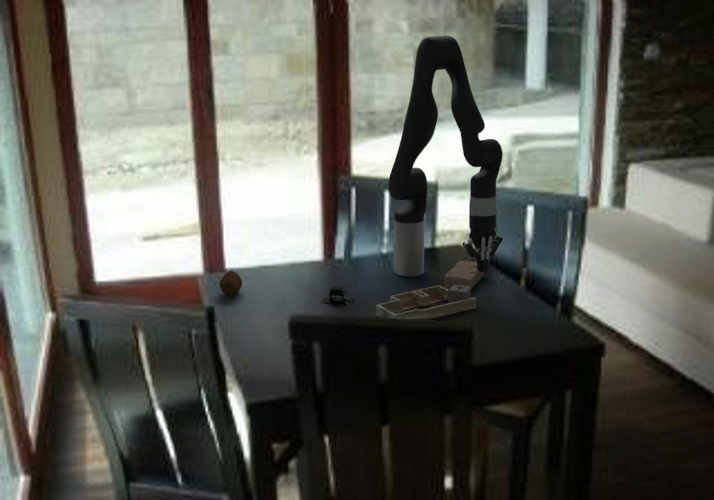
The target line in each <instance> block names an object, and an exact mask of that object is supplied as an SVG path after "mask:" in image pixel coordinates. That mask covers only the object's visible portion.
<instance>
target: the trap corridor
mask: <svg viewBox="0 0 714 500" xmlns="http://www.w3.org/2000/svg"><path fill="white" fill-rule="evenodd" d="M448 290H449V289H446V288H444V286H442V285H440V284H439V285H433V286H429V287H424V288H419V289H415V290H411V291H406V292H402V293H399V294H398V293H397V294H393V295H390V296H388V297H389V298H388V299H389V301H386V302H382V303H376V304H375V317H376V316H380V317H385V318H396V319H419V318H424V319H428V318H433V317H438V318H440V317H439V316H442V317H444V316H443V315H446V316H448V315H447V314H450V315H453V313H454V314H458V313H461V311H462V312H466V310H467V311H470V310H474V309H477V297H475V296H473V297H471V298H469V299H465V300H461V301H456V302H452V303H448V302H447V303H444V304H440V305H439V304H438V305H436V306H431V305H433V304H436V303H437V302H438V303H442V302H446V301H447V300H448ZM428 305H430V306H431V307H429V306H428ZM419 306H420V307H421V306H422V307H421V308H423V309H418V308H420V307H419ZM423 306H426V308H424V307H423ZM415 307H416V308H415ZM411 308H412V310H410V309H411ZM414 308H415V309H414ZM406 309H407V311H406ZM457 312H458V313H457ZM395 313H396V314H395Z"/></svg>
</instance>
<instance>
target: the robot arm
mask: <svg viewBox="0 0 714 500" xmlns="http://www.w3.org/2000/svg"><path fill="white" fill-rule="evenodd" d="M416 49H417V51H416V57H415V62H414V72H413V80H412V86H411V91H410V97H409V102H408V105H407V110H406V113H405V119H404V123H403V127H402V132H401V138H400V142H399V145H398V149H397V152H396V156H395V159H394V161H393V165H392V168H391V171H390V174H389V177H388V184H387V185H388V192H389V196H391V198H392V199H393V200H396V201H404V203H403V204H402V205H401V206H400V207H398V208H397V209H395V210H394V214H393V215H394V217H393V219H394V241H393V271H394V273H395V274H396V275H397V276H401V277H406V278H407V277H408V278H409V277H411V278H412V277H419V276H421V275H424V273H425V214H426V211H427V201H428V179H427V175H426V173H425V171H424V170H423V169H422V168H420V167H414V165H415V163H416V161H417V159H418V157H419V156H420V155H421V153H422V152H423V151H424V149H425V148H427V146H428V144H429V143H430V142H431V140H432V139H433V136H434V135H435V134H434V133H435V131H436V126H437V122H438V119H439V111H438V109H439V108H438V107H437V106H438V105H437V103H436V100H435V96H434V94H433V83H434V79H435V74H436V71H440V70H441V71H443V70H445V72H446V73H447V75H448V77H449V79H450V82H451V99H450V108H451V113H452V115H453V118H454V121H455V123H456V126H457V128H458V131H459V133H460V139H461V146H462V153H463V157H464V159H465V161H466V162H467V163H468V165H470V166H471V167H474V168H480V169H479V171H478V172H477V173H475V174H474V175H472V176H471V178H470V182H469V183H470V184H469V185H470V188H469V190H470V194H469V195H470V197H469V203H468V204H469V207H468V209H469V211H468V212H469V213H468V218H469V219H468V220H469V221H468V228H469V230H470V232H469V234H468V239H467V240H466V241H463V242H462V247H463V248H464V249H465V250H466V252H467V253H468V255H469V256H470V257H471V258H472V259H473V258H474V259H476V262H477V270H478V271H479V272H484V273H487V272H488V269H489V259H490V257H493V256H494V255H495V254H496V252H497V251H498V248H499V246H500V245H501V243H502V242H503V237H502V236H499V235H498V234H497V231H496V228H497V220H498V219H497V211H498V210H497V209H498V208H497V207H498V205H497V179H498V176H499V173H500V168H501V165H502V162H503V148H502V145H501V143H500V142H499V141H498V140H497V139H494V138H487V139H482V140H481V139H480V138H479V134H480V133H482V132H483V131H484V130H485V127H486V126H485V125H486V124H485V121H484V118H483V116H482V114H481V112H480V109H479V107H478V105H477V103H476V100H475V98H474V94H473V93H472V89H471V84H470V81H469V77H468V76H469V75H468V72H467V69H466V64H465V60H464V57H463V52H462V50H461V48H460V44H459V43H458V40H457V39H456V38H454V36H450V35H435V36H434V35H432V36H426V37H424V38H423V39H421V41H420V42H419V44H418V47H417V48H416Z"/></svg>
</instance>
